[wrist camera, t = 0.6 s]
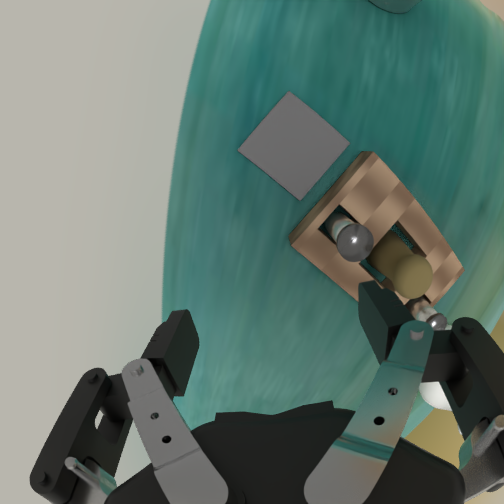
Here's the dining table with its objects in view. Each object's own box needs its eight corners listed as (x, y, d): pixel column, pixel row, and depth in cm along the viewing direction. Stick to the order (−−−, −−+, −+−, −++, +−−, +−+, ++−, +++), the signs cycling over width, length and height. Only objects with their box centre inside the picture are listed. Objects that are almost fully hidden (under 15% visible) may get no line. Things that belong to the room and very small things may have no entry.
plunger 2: (414, 283, 35) (440, 311, 28) (425, 296, 36) (450, 324, 29) (397, 301, 36) (420, 332, 29) (409, 313, 37) (431, 343, 30)
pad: (288, 92, 29) (288, 90, 29) (348, 143, 31) (350, 143, 31) (237, 150, 32) (237, 150, 32) (299, 200, 34) (299, 201, 34)
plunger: (335, 202, 32) (356, 217, 24) (356, 221, 33) (380, 241, 25) (315, 224, 33) (330, 246, 26) (336, 243, 34) (355, 269, 26)
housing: (361, 151, 32) (373, 151, 28) (451, 260, 36) (464, 270, 32) (288, 235, 36) (291, 245, 32) (391, 324, 40) (400, 338, 37)
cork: (407, 250, 36) (446, 283, 26) (377, 276, 38) (409, 316, 27) (388, 220, 35) (429, 246, 24) (357, 247, 36) (387, 283, 26)
